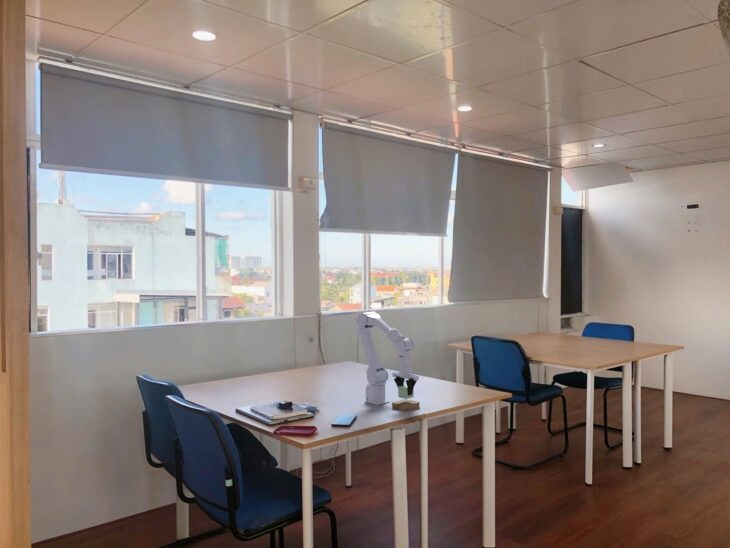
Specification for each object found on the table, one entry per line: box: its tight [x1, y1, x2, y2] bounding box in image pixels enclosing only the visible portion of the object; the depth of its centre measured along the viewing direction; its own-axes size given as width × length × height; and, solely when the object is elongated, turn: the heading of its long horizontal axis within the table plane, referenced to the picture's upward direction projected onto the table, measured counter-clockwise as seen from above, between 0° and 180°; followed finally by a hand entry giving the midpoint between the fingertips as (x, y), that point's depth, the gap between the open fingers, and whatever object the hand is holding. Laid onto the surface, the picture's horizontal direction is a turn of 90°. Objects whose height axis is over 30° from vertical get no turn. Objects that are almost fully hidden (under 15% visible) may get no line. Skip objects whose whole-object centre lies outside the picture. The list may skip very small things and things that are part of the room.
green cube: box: [397, 384, 415, 400], centre depth 269 cm, size 5×5×5 cm
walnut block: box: [391, 398, 420, 413], centre depth 269 cm, size 9×9×3 cm
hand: (405, 393), depth 269 cm, fingers closed on green cube, 5 cm apart
